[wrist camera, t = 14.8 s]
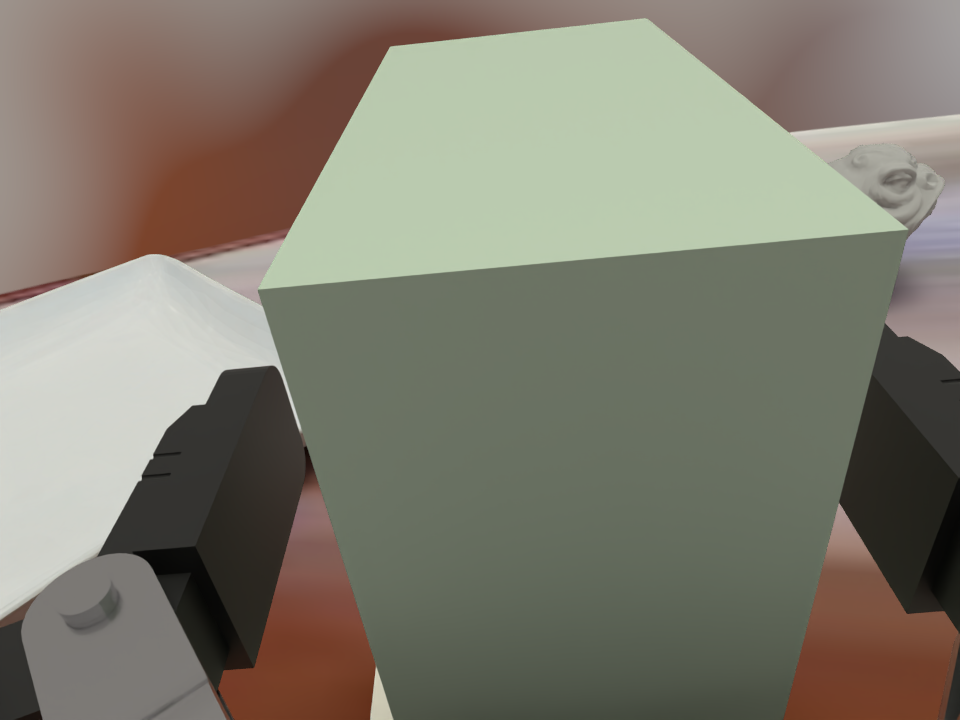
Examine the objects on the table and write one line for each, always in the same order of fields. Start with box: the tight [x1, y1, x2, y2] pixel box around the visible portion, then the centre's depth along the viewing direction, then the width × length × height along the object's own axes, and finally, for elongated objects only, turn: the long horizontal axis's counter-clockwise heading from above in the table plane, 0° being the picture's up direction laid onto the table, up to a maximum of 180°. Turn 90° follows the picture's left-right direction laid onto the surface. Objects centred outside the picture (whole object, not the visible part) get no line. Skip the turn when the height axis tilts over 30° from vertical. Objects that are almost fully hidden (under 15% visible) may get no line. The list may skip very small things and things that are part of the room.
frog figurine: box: [827, 144, 945, 240], centre depth 33 cm, size 6×7×7 cm
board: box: [258, 18, 909, 720], centre depth 11 cm, size 4×7×16 cm, turn 0°
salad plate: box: [0, 254, 307, 628], centre depth 29 cm, size 21×21×3 cm
